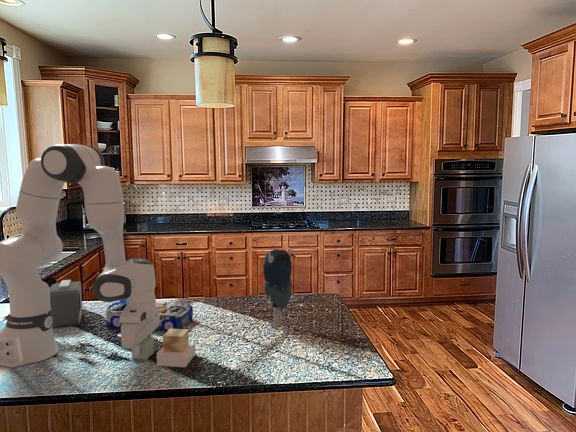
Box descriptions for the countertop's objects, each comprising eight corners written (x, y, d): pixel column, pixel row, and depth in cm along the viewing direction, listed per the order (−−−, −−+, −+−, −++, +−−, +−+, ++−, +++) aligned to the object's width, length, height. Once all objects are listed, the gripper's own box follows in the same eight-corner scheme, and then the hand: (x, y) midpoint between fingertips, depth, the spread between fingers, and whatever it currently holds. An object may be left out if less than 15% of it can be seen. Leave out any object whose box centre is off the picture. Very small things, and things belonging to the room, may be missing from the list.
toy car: (177, 334, 157) (176, 308, 156) (103, 329, 162) (102, 303, 161) (194, 319, 173) (193, 295, 172) (126, 315, 178) (125, 291, 177)
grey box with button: (79, 326, 163) (77, 286, 162) (45, 330, 159) (43, 289, 158) (82, 313, 178) (80, 276, 177) (51, 316, 174) (49, 279, 173)
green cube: (131, 358, 136) (131, 343, 136) (138, 351, 141) (138, 337, 141) (146, 359, 136) (146, 343, 135) (153, 352, 141) (153, 337, 140)
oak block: (163, 351, 132) (162, 335, 132) (170, 343, 138) (170, 328, 137) (182, 352, 131) (181, 336, 131) (188, 344, 137) (188, 329, 137)
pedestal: (157, 365, 131) (156, 353, 131) (168, 353, 140) (168, 341, 140) (185, 367, 130) (185, 354, 130) (195, 354, 139) (194, 342, 139)
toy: (279, 319, 173) (279, 245, 170) (300, 325, 167) (300, 249, 164) (256, 328, 163) (256, 250, 160) (277, 335, 156) (277, 254, 153)
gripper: (146, 298, 147) (147, 337, 149) (116, 319, 127) (117, 363, 129) (163, 299, 147) (164, 338, 148) (136, 320, 126) (137, 364, 128)
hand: (142, 350), depth 138 cm, fingers closed on green cube, 5 cm apart
